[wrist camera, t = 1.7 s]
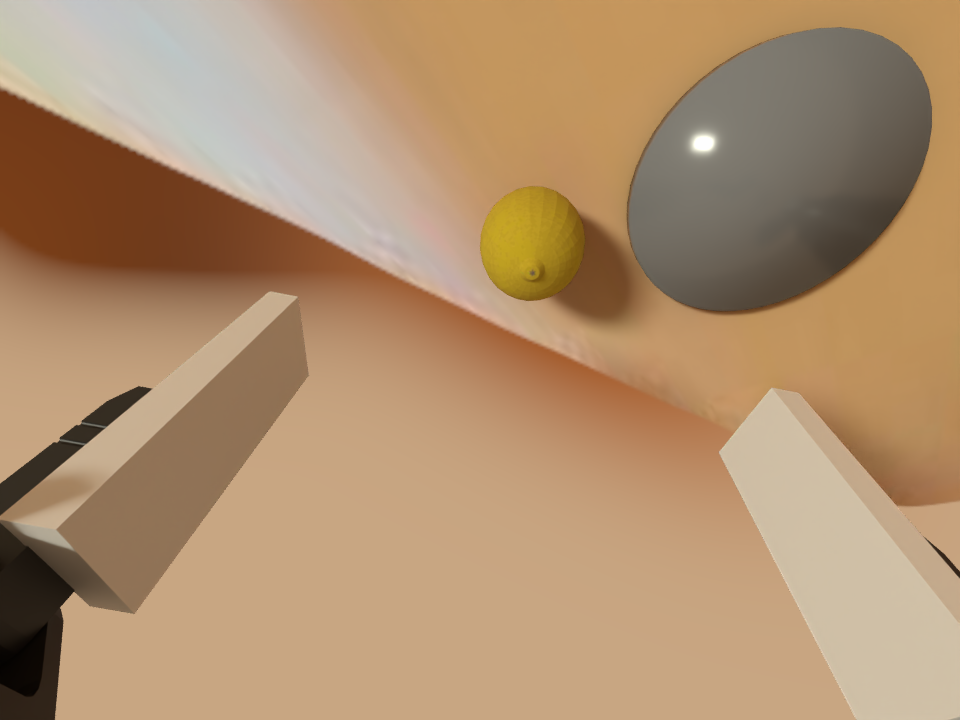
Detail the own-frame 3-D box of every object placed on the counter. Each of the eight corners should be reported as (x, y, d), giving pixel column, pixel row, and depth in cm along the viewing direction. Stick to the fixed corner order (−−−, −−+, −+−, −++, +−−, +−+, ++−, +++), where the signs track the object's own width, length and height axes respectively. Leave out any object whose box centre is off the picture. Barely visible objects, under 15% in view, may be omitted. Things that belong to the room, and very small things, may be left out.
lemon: (576, 261, 25) (591, 322, 19) (491, 267, 26) (479, 328, 20) (578, 168, 22) (598, 204, 16) (482, 178, 23) (463, 216, 16)
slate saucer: (995, 63, 18) (1016, 62, 17) (797, 321, 26) (805, 329, 25) (697, 1, 18) (705, -3, 17) (593, 281, 26) (595, 287, 25)
